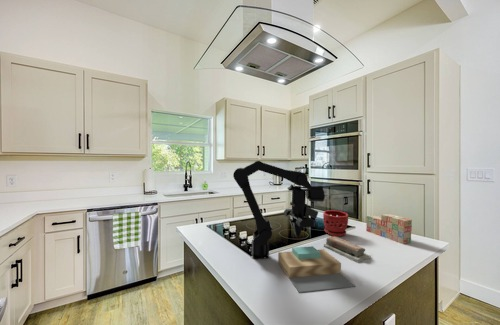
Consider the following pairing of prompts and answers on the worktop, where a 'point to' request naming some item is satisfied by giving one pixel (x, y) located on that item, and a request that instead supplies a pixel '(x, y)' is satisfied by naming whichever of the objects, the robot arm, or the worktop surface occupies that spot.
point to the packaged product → (346, 249)
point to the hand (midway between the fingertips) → (297, 237)
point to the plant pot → (335, 222)
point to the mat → (321, 282)
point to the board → (308, 264)
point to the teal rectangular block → (306, 252)
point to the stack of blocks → (390, 227)
